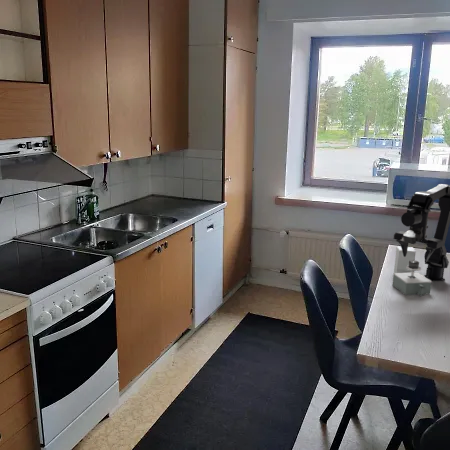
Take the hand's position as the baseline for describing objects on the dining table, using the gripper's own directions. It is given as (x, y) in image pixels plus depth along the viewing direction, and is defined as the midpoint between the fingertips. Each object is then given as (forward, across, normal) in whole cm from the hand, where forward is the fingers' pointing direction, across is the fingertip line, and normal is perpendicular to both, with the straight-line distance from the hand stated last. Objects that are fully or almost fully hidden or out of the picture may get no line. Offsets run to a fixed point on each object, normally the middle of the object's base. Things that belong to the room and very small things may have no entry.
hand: (415, 259), depth 197 cm
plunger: (+9, 0, 0) cm, 9 cm away
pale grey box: (+13, +1, -1) cm, 13 cm away
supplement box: (+13, -12, +14) cm, 23 cm away
